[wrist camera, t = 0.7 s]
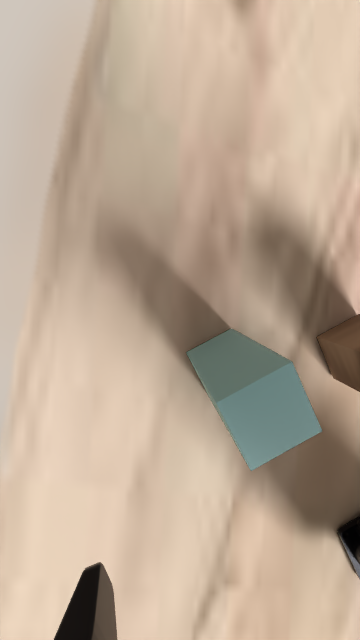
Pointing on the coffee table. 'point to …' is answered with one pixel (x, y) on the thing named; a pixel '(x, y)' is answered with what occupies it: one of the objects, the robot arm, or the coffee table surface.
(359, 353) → the walnut block
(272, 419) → the teal block
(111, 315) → the coffee table surface
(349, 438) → the coffee table surface
